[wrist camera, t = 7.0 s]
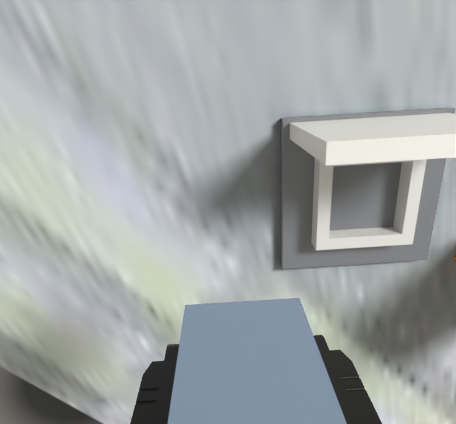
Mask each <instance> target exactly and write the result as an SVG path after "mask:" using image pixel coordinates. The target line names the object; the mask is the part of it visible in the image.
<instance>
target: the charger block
mask: <svg viewBox="0 0 456 424" xmlns="http://www.w3.org/2000/svg"><path fill="white" fill-rule="evenodd" d="M168 424H347V423H346V420H345V418H344V415H343V412H342V410H341V407H340V405H339V402H338V399H337V397H336V394H335V391H334V389H333V386H332V383H331V381H330V378H329V376H328V373H327V370H326V368H325V365H324V362H323V360H322V357H321V354H320V352H319V349H318V347H317V344H316V341H315V339H314V336H313V333H312V331H311V328H310V325H309V323H308V320H307V318H306V315H305V312H304V310H303V307H302V304H301V302H300V299H299V298H292V299H276V300H260V301H244V302H228V303H212V304H196V305H185V311H184V317H183V324H182V331H181V337H180V344H179V351H178V357H177V364H176V371H175V377H174V384H173V391H172V397H171V404H170V411H169V417H168Z"/></svg>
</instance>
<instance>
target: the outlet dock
mask: <svg viewBox="0 0 456 424" xmlns="http://www.w3.org/2000/svg"><path fill="white" fill-rule="evenodd" d="M454 113H455V108H435V109H419V110H403V111H387V112H371V113H355V114H338V115H322V116H306V117H290V118H281V266H282V269H292V268H307V267H323V266H338V265H354V264H369V263H385V262H401V261H416V260H427V257H428V252H429V246H430V241H431V236H432V230H433V225H434V220H435V214H436V209H437V204H438V198H439V193H440V188H441V182H442V177H443V172H444V166H445V161H446V158H454V157H456V114H454Z"/></svg>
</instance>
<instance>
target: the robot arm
mask: <svg viewBox="0 0 456 424" xmlns="http://www.w3.org/2000/svg"><path fill="white" fill-rule="evenodd" d="M314 339H315V341H316V344H317V347H318V349H319V352H320V354H321V357H322V360H323V362H324V365H325V368H326V370H327V373H328V376H329V378H330V381H331V383H332V386H333V389H334V391H335V394H336V397H337V399H338V402H339V405H340V407H341V410H342V412H343V415H344V418H345V420H346V423H347V424H382V423H381V421H380V419H379V417H378V414H377V412H376V410H375V408H374V406H373V404H372V402H371V400H370V398H369V396H368V394H367V392H366V390H365V389H364V385H363V383H362V381H361V379H360V378H359V375H358V373H357V371H356V369H355V367H354V365H353V363H352V361H351V360H350V359H349V358H348V357H347V356H346V355H345V354H344V353H343V352H342V351H341V350H332V351H330V350H329V348H328V346H327V343H326V341H325V339H324V337H323V335H315V336H314ZM178 351H179V344H169V345H168V346H167V349H166V354H165V359H164V361H155V362H152V363H151V364H150V366H149V367H148V369H147V370H146V371H145V373H144V374H143V377H142V381H141V385H140V389H139V392H138V396H137V400H136V405H135V408H134V412H133V416H132V419H131V423H130V424H168V417H169V411H170V404H171V397H172V391H173V384H174V377H175V371H176V364H177V357H178Z"/></svg>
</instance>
